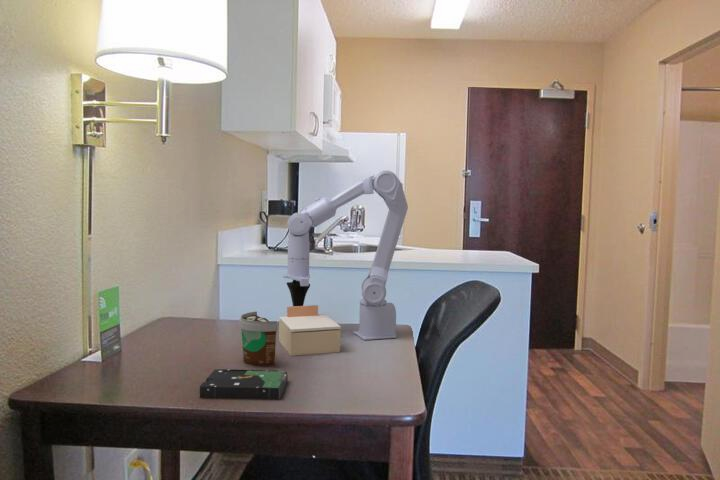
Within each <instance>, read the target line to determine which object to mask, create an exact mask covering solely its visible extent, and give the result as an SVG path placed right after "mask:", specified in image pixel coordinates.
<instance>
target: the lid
mask: <svg viewBox="0 0 720 480" xmlns="http://www.w3.org/2000/svg"><path fill="white" fill-rule="evenodd" d="M278 319H279V320H280V321H281V322H282V323H283V324H284V325H285V326H286V327H287V328H288V329H289V330H290V331H291V332H300V331H315V330H331V329H340V330H342V329H341V328H342V327H341V326H342V325H339V324H338V323H336V322H335V321H334V320H333V319H331V318H330V317H329V316H328V315H326V314H323V313H322V314H319V305H317V304H316V305H315V304H314V305H313V304H311V305H303V306H293V305H292V306H286V316H278Z"/></svg>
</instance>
